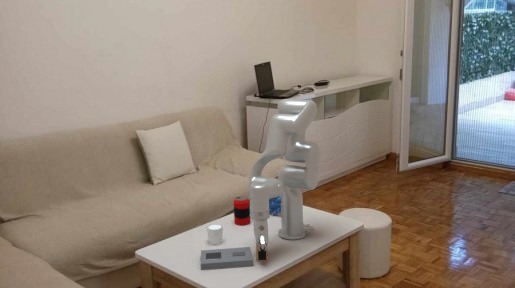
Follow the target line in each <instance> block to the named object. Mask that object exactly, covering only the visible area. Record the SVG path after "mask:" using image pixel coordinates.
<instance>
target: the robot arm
mask: <svg viewBox="0 0 515 288" xmlns="http://www.w3.org/2000/svg"><path fill="white" fill-rule="evenodd" d="M277 112H278V114H277V113H276V114H274V115H273V116H272V117H271V118H270V121H269V126H268V133H267V139H266V144H265V148H264V151H263V152H262V153H261V154H260V155H259V156H258V157H257V158H256V160H255V161H254V163H253V165H252V166H251V169H250V173H249V180H248V188H249V189H248V190H249V201H250V220H252V221H253V233H254V239H255V244H256V243H257V244H258V248H259V250H258V260H263V261H267V260H268V255H267V256H266V245H265V243H266V244H267V245H269V243H270V242H269V241H270V239H269V225H268V220H269V219H270V217H271V214H269V199H272V198H276V197H278V196H281V213H280V215H281V220H280V221H281V222H280V223H281V228H280V229H279V230H278V233H277V234H278V236H279V237H280V238H282V239H284V240H291V241H293V240H295V241H296V240H300V239H304V238H305V237H306V236H307V235H308V234H307V233H308V231H314V230H315V226H314V225H310V224H305V223H304V201H303V200H304V198H303V193H302V190H305V191H311V190H312V191H313V190H314V189H316V187H317V185H318V182H319V175H320V166H321V157H322V155H321V153H322V152H321V147H320V145H319V144H318V142H315V141H310V140H309V141H308V140H306V131H307V130H308V128H309V126H310V125H311V124H312V122H313V121H314V120H315V118H316V116H317V113H318V106H317V104H316V102H315V101H314V100H312V99H298V98H297V99H296V98H284V99H280V100H279V101H278V102H277ZM282 157H284V159H285V160H286V161H288V162H292V163H297V164H305V166H303V165H302V166H301V165H297V164H296V165H295V164H285V165H282V166H281V167H280V168H279V169H278V170H277V171H278V172H277V178H274V177H268V176H264V175H262V172H263V170H264V168H265V167H266V165H267V164H268V163H270V162H272V161H273V160H276V159H279V158H282ZM259 242H261V243H259ZM260 245H261V246H260ZM266 259H267V260H266Z"/></svg>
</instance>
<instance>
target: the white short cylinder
mask: <svg viewBox="0 0 515 288" xmlns="http://www.w3.org/2000/svg"><path fill="white" fill-rule="evenodd" d="M223 230H224V226H223V225H222V224H219V223H213V224H210V225H208V226H207V227H206V232H207V237H208V238H207V239H208V243H209V244H210V245H221V244H222V243H223V236H224V235H223Z"/></svg>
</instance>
